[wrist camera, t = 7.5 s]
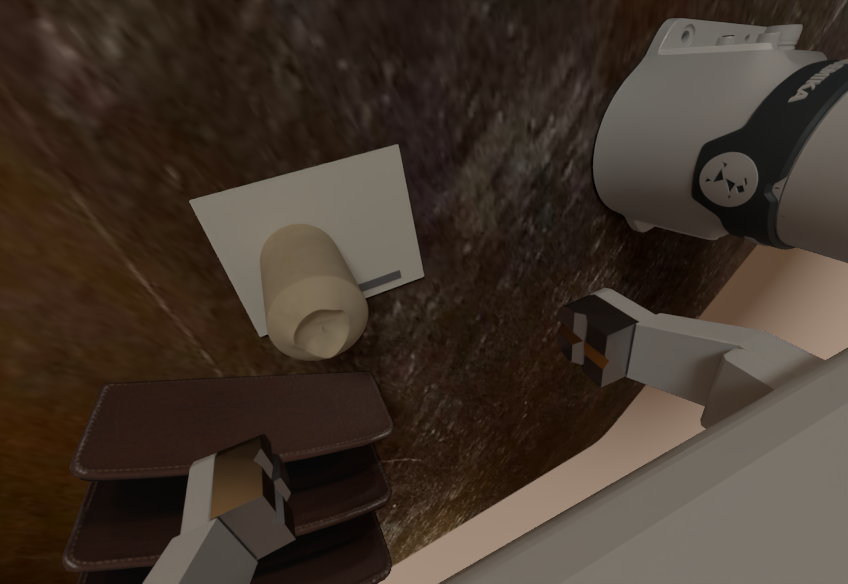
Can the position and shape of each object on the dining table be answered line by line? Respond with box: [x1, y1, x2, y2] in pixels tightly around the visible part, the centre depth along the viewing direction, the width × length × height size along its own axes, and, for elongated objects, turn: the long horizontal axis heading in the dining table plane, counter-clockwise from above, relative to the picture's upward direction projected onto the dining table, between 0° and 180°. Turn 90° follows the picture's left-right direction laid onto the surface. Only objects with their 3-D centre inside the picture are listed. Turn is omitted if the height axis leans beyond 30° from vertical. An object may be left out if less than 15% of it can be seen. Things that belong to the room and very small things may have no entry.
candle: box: [260, 224, 368, 361], centre depth 24 cm, size 6×6×10 cm
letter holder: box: [63, 371, 394, 584], centre depth 28 cm, size 10×20×14 cm, turn 76°
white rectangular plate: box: [189, 145, 424, 337], centre depth 28 cm, size 14×11×1 cm
